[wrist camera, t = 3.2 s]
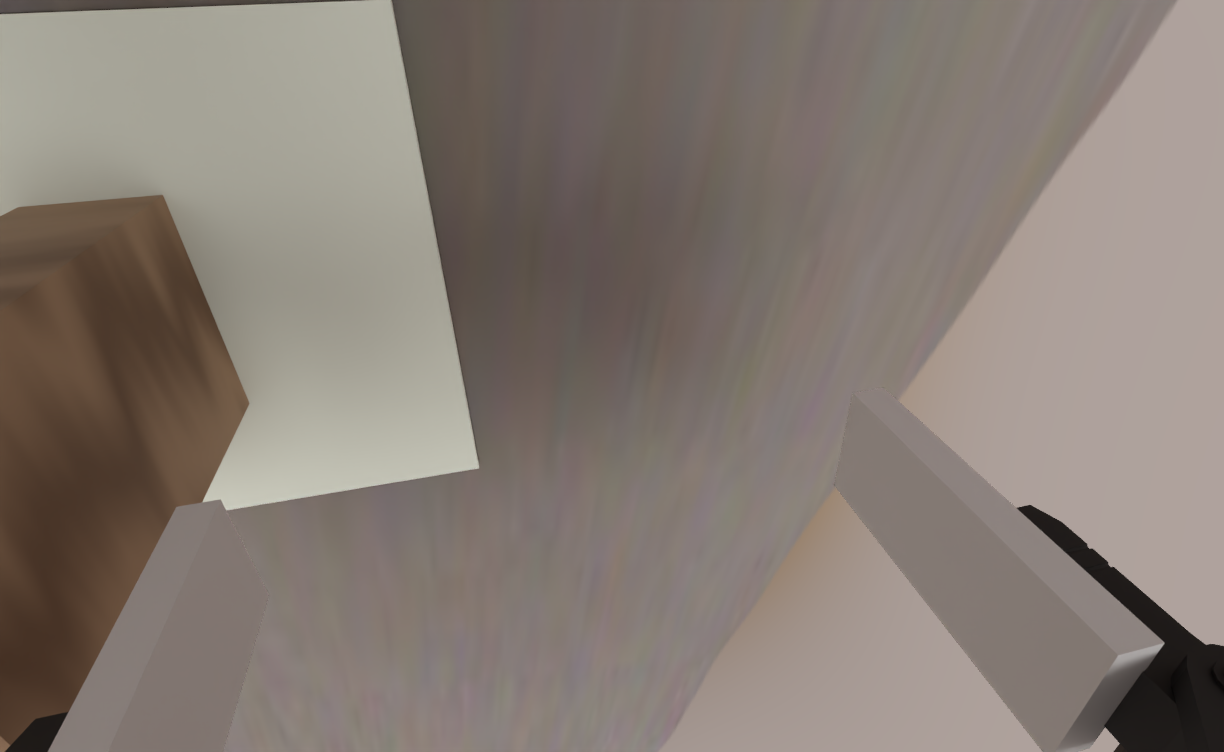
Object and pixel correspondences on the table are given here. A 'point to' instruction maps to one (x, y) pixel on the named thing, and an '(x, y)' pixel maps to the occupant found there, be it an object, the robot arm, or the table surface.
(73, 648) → the walnut block
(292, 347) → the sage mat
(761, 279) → the table surface
